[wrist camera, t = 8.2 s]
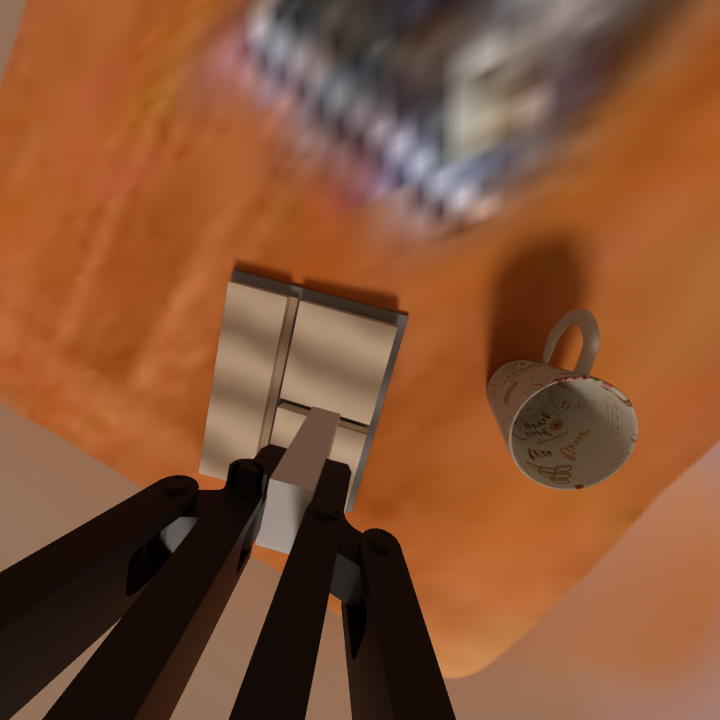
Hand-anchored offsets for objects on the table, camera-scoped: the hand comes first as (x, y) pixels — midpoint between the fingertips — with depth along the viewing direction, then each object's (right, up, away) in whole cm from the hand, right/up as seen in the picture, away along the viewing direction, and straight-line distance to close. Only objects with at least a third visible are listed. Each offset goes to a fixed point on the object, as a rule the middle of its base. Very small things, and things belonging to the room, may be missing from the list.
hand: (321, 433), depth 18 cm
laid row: (-4, 0, +17) cm, 18 cm away
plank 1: (0, +4, +15) cm, 15 cm away
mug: (+18, +3, +15) cm, 23 cm away
